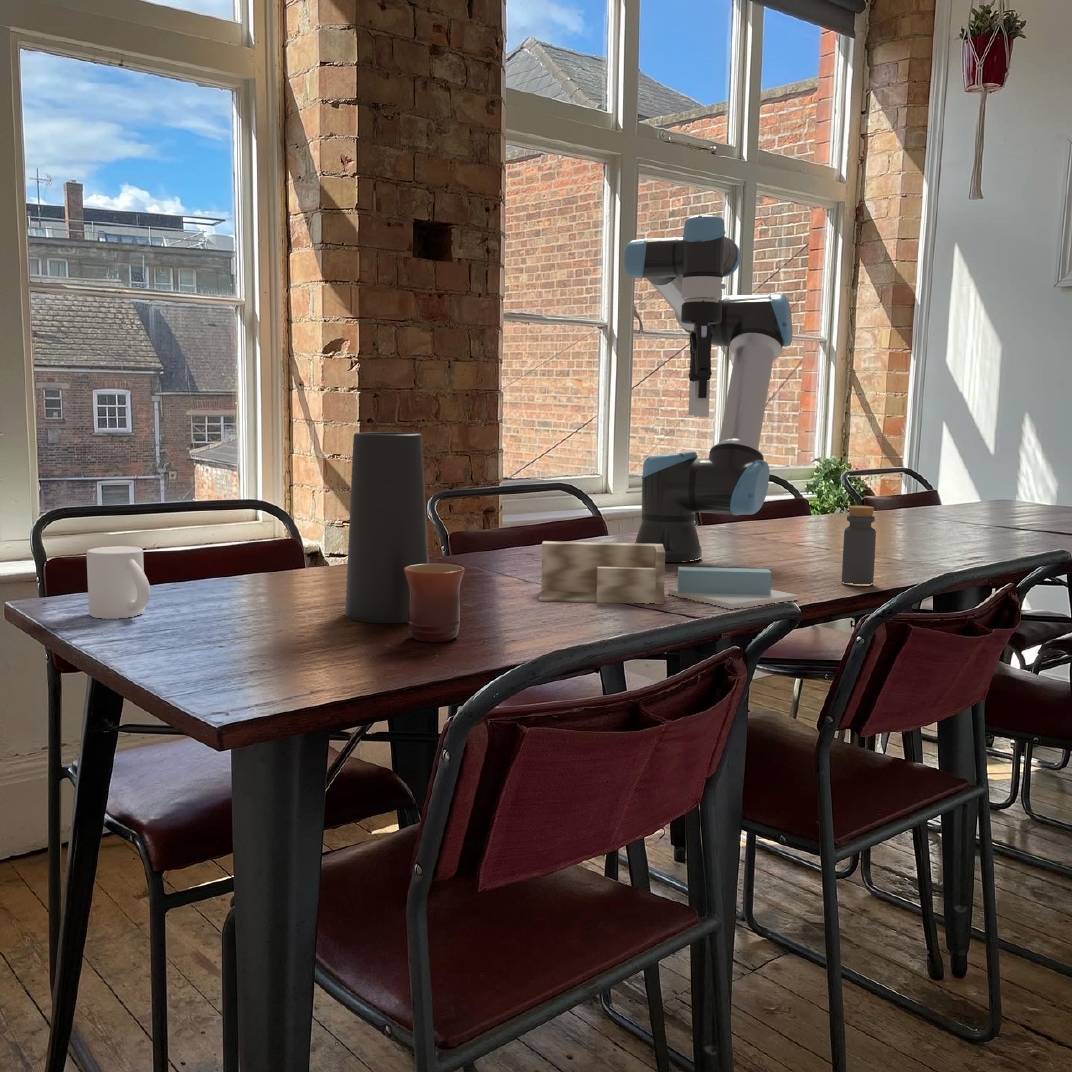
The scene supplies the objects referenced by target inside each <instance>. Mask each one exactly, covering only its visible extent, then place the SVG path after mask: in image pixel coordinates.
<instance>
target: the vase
mask: <svg viewBox="0 0 1072 1072" xmlns="http://www.w3.org/2000/svg"><path fill="white" fill-rule="evenodd" d="M422 437H423V436H422V434H421V433H416V432H396V431H395V432H392V431H391V432H387V431H386V432H385V431H384V432H379V431H378V432H377V431H375V432H372V431H371V432H370V431H367V432H356V433H354V434H353V438H352V439H353V441H352V461H351V464H352V466H351V480H350V481H351V482H350V483H351V485H350V487H351V488H350V500H349V501H350V502H349V503H350V505H349V523H348V524H349V527H348V545H347V546H348V548H347V549H348V550H347V567H346V591H345V594H346V595H345V617H346V618H347V619H348V620H352V621H354V622H359V623H369V624H403V623H408V608H409V588H408V583H407V580H406V576H405V573H404V568H405V567H407V566H411V565H418V564H430V558H429V540H428V538H429V537H428V523H427V507H426V506H427V505H426V489H425V483H426V482H425V473H424V472H425V471H424V470H425V469H424V468H425V467H424V451H423V440H422V439H423V438H422Z"/></svg>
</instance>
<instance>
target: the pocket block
mask: <svg viewBox="0 0 1072 1072" xmlns="http://www.w3.org/2000/svg"><path fill="white" fill-rule="evenodd" d="M665 573H666V563H665V550H664V547H663V544H642V543H634V542H630V543H629V542H599V541H598V542H591V541H590V542H589V541H587V542H585V541H552V540H551V541H550V540H548V541H547V540H543V541H542V543H541V585H540V586H541V591H540V594H539V596H538V601H539V602H556V603H557V602H558V603H559V602H562V603H563V602H564V603H568V602H569V603H594V604H595V603H602V604H634V603H645V605H650V604H649V603H655V604H654V605H665V584H666V583H665V581H666V580H665V578H666V576H665V575H666V574H665Z"/></svg>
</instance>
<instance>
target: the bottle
mask: <svg viewBox="0 0 1072 1072" xmlns="http://www.w3.org/2000/svg"><path fill="white" fill-rule="evenodd" d="M874 511H875V507H874V506H869V505H849V506H848V512H849V514H848V515H847V516H846V521H847V522H848V523H849V526H847V527H845V528H844V532H843V547H842V548H843V549H842V569H841V583H842V582H844V583H853V584H871V583H873V584H874V575H875V559H876V545H877V544H876V543H877V542H876V541H877V540H876V539H877V531H876V529H875V528H874V527H872V523H874V522H875V520H876V518H875V516H873V515H874Z"/></svg>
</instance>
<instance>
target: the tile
mask: <svg viewBox="0 0 1072 1072" xmlns="http://www.w3.org/2000/svg"><path fill="white" fill-rule="evenodd" d="M667 593H668V594H670V595H669V596H672V595H674V597H676V596H677V597H676V598H680V599H684V598H688V599H687V600H689V599H692V600H691V601H693V600H696V601H695V602H697V601H700V602H699V603H701V602H704V603H703V604H705V603H711V604H715V605H718V606H722V607H724V608H723V609H726V608H728V610H730V609H733V610H735V609H734V608H740V607H743V608H742V609H745V608H755V607H759V606H758V605H762V606H766V605H765V604H769V603H775V602H778V601H792V600H790V599H795V598H798V599H799V594H795V593H789V592H784V591H779V590H776V589H775V590H774V589H771V595H746V594H707V593H679V592H678V589H677V587H676V588H675V587H674V588H668V591H667ZM668 594H667V595H668ZM792 602H793V601H792ZM718 606H717V607H718ZM754 606H755V607H754ZM722 607H721V608H722ZM740 609H741V608H740Z"/></svg>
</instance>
